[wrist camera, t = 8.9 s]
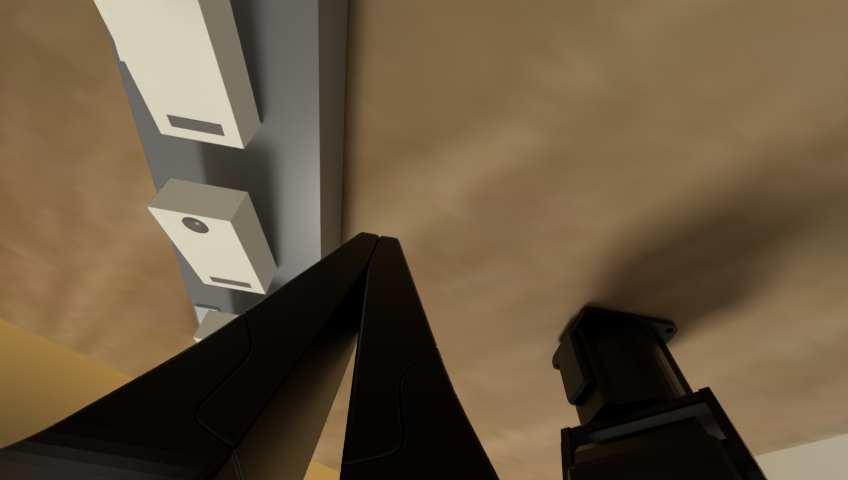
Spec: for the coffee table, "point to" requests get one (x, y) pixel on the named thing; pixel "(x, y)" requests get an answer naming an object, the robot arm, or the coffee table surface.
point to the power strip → (270, 140)
